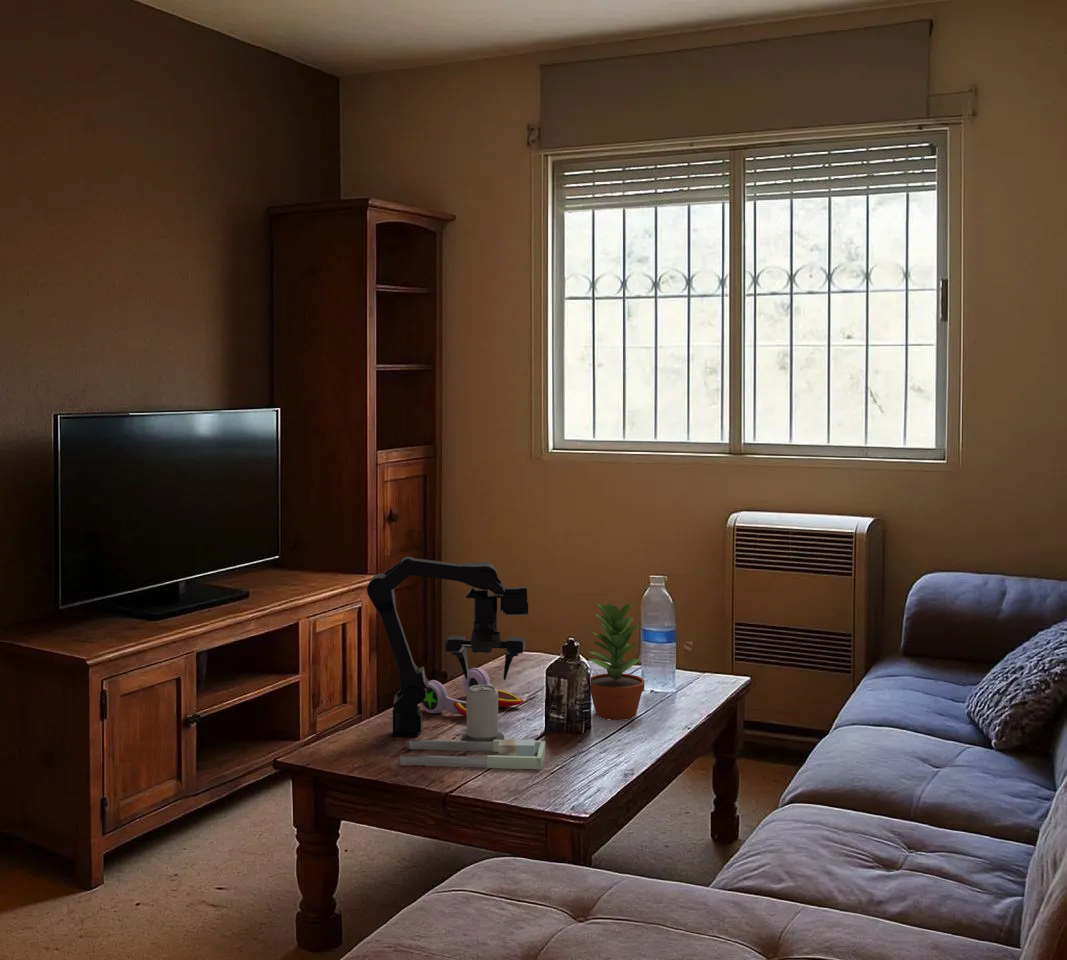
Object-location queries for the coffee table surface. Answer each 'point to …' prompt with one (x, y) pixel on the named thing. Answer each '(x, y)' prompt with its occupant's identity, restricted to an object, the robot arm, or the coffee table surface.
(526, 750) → the grey-blue block
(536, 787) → the coffee table surface
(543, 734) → the coffee table surface
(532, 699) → the coffee table surface
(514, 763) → the tray
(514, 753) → the cream block
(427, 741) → the channel
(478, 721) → the can
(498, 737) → the coaster
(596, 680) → the potted plant
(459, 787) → the coffee table surface
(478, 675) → the headphones
